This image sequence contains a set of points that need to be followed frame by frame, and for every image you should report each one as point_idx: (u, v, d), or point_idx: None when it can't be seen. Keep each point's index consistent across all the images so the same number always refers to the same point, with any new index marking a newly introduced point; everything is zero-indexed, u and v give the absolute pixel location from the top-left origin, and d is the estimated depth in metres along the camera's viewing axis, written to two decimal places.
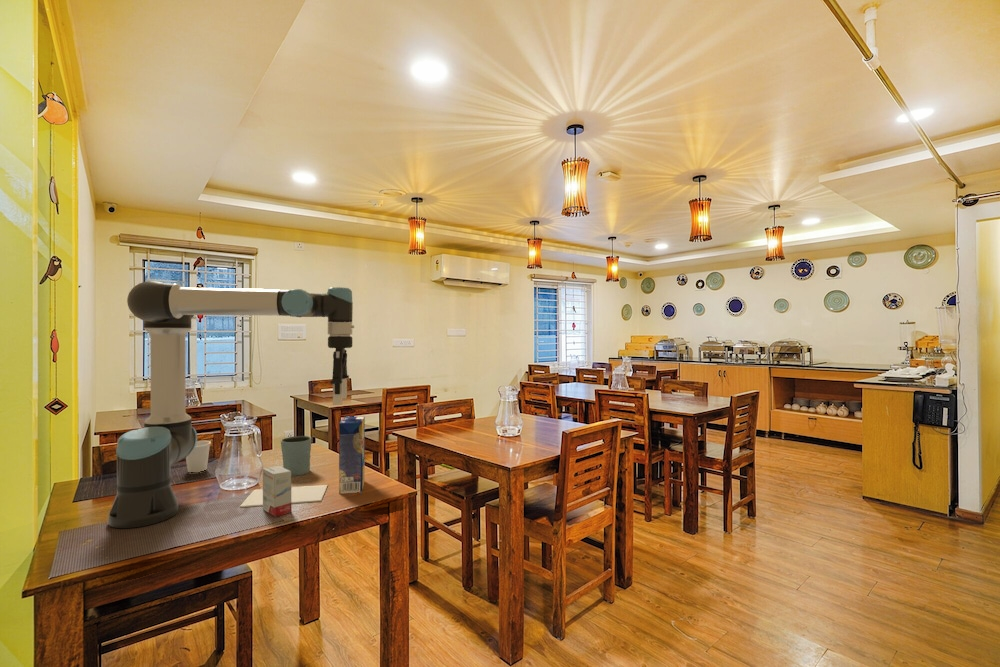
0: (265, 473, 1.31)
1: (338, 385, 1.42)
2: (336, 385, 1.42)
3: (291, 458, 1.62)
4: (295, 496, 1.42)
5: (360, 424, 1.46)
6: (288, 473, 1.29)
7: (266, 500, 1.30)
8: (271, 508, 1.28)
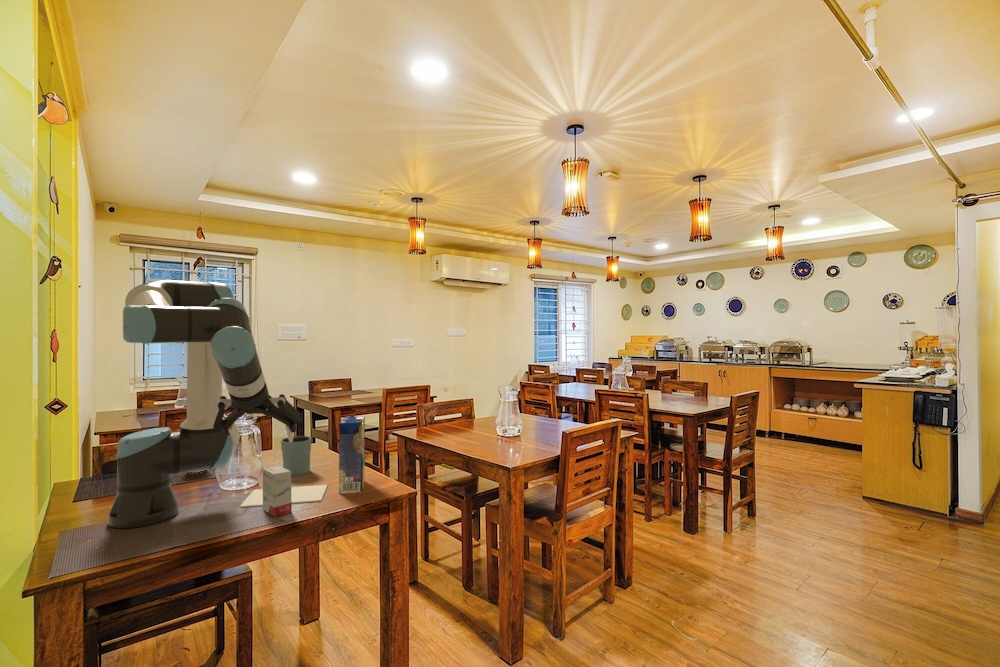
0: (265, 473, 1.31)
1: None
2: None
3: (291, 458, 1.62)
4: (295, 496, 1.42)
5: (360, 424, 1.46)
6: (288, 473, 1.29)
7: (266, 500, 1.30)
8: (271, 508, 1.28)
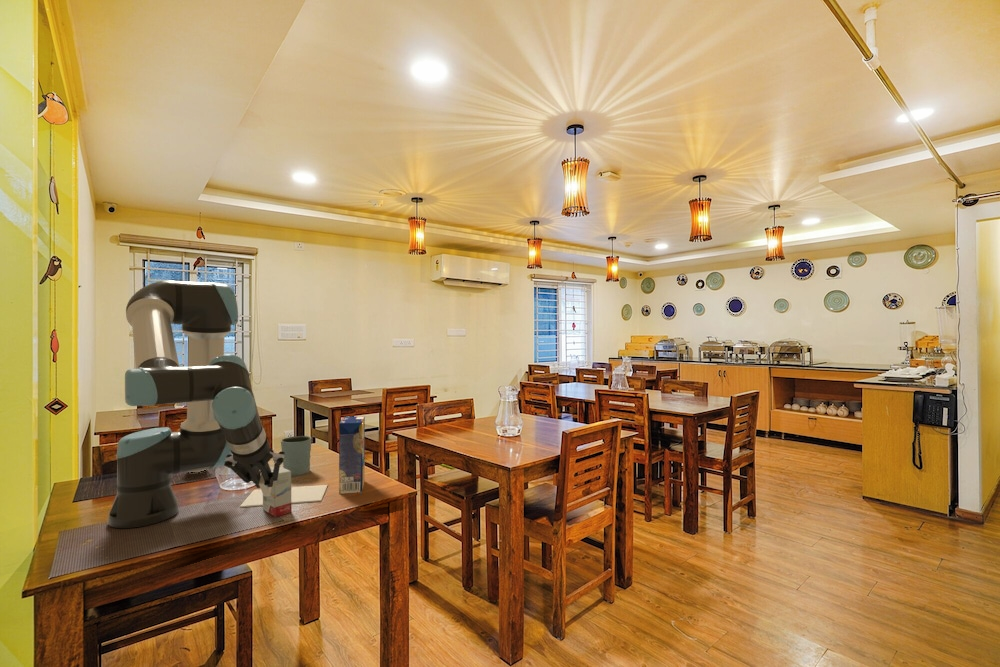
0: None
1: None
2: None
3: (291, 458, 1.62)
4: (295, 496, 1.42)
5: (360, 424, 1.46)
6: (288, 473, 1.29)
7: (266, 500, 1.30)
8: (271, 508, 1.28)
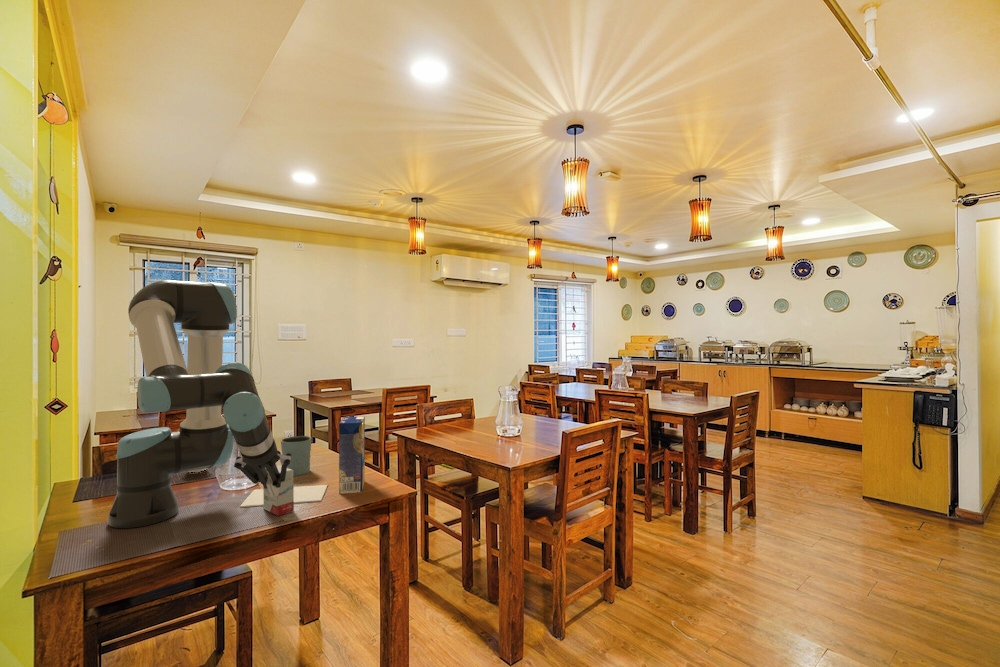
0: None
1: None
2: None
3: (291, 458, 1.62)
4: (295, 496, 1.42)
5: (360, 424, 1.46)
6: (290, 472, 1.30)
7: (268, 499, 1.31)
8: (274, 507, 1.28)
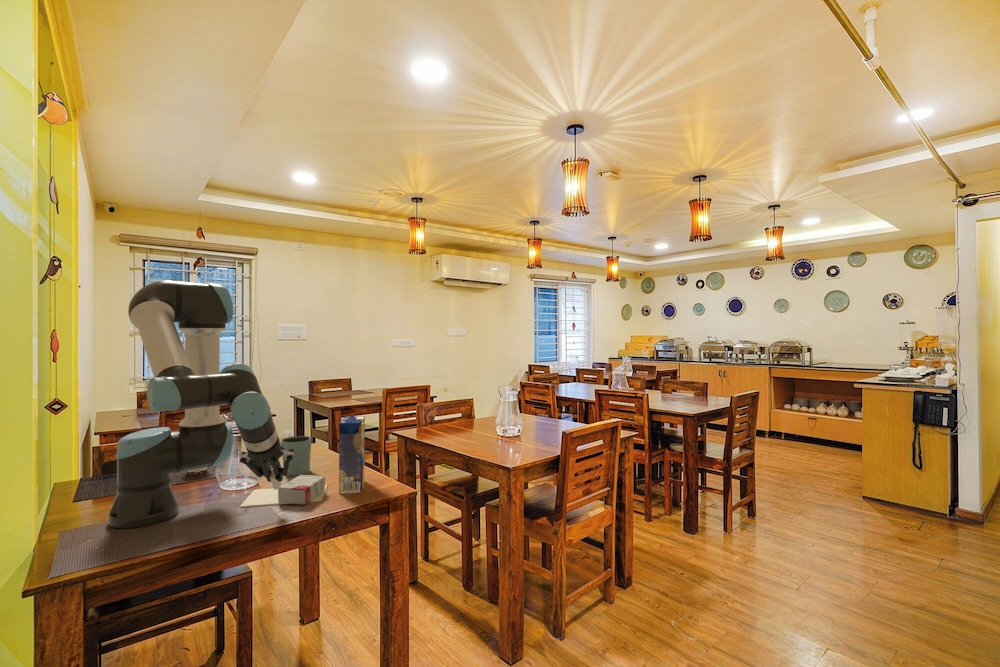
0: (305, 476, 1.46)
1: None
2: None
3: None
4: None
5: (360, 424, 1.46)
6: (324, 488, 1.45)
7: (294, 483, 1.38)
8: (302, 486, 1.37)
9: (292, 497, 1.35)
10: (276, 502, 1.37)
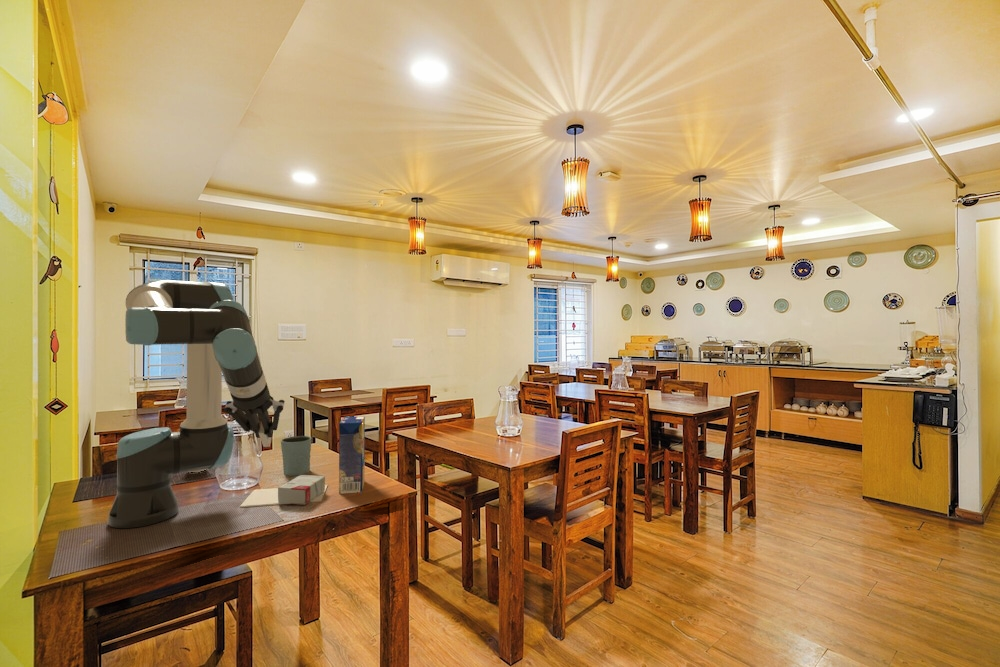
0: (305, 476, 1.46)
1: None
2: None
3: (291, 458, 1.62)
4: None
5: (360, 424, 1.46)
6: (324, 488, 1.45)
7: (294, 483, 1.38)
8: (302, 486, 1.37)
9: (292, 497, 1.35)
10: (276, 502, 1.37)
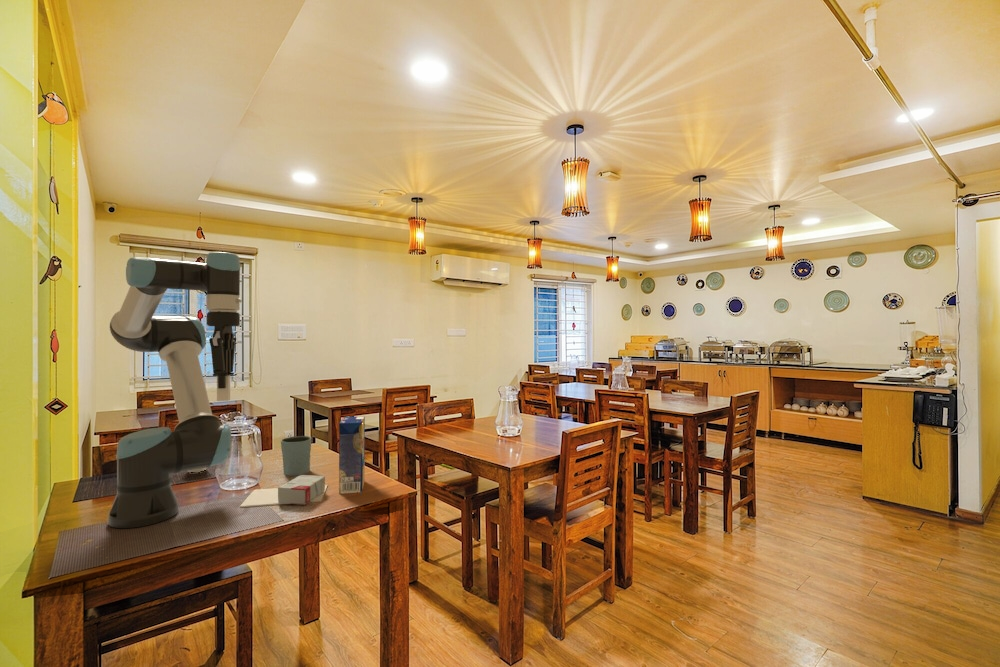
0: (305, 476, 1.46)
1: (222, 378, 1.22)
2: (220, 378, 1.22)
3: (291, 458, 1.62)
4: None
5: (360, 424, 1.46)
6: (324, 488, 1.45)
7: (294, 483, 1.38)
8: (302, 486, 1.37)
9: (292, 497, 1.35)
10: (276, 502, 1.37)
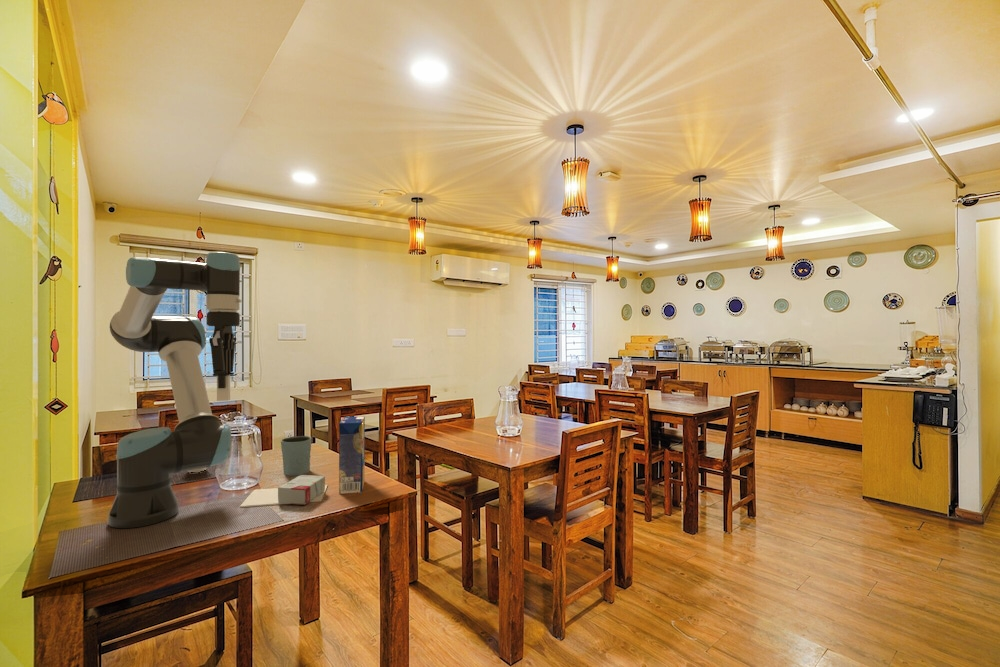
0: (305, 476, 1.46)
1: (222, 378, 1.22)
2: (220, 378, 1.22)
3: (291, 458, 1.62)
4: None
5: (360, 424, 1.46)
6: (324, 488, 1.45)
7: (294, 483, 1.38)
8: (302, 486, 1.37)
9: (292, 497, 1.35)
10: (276, 502, 1.37)
